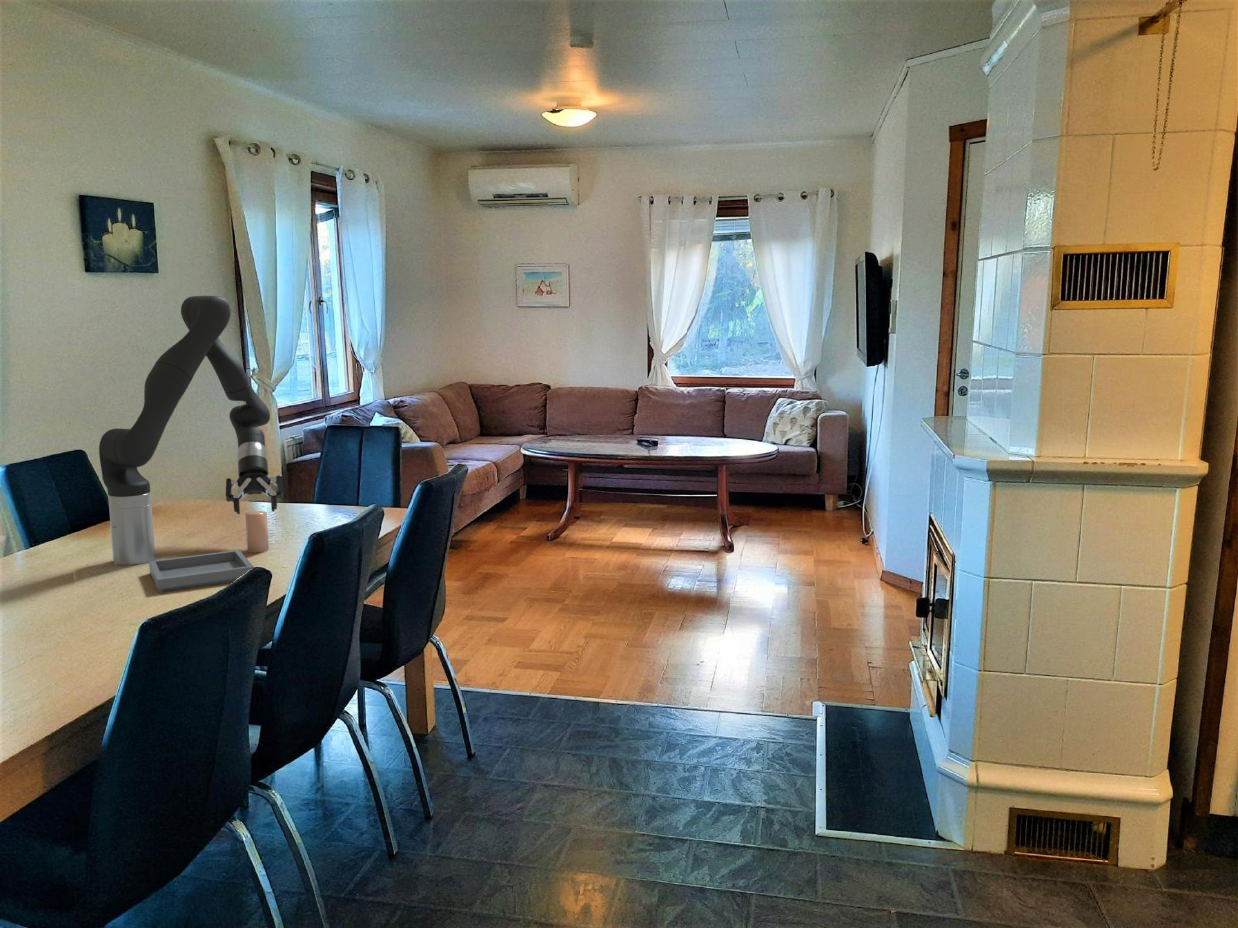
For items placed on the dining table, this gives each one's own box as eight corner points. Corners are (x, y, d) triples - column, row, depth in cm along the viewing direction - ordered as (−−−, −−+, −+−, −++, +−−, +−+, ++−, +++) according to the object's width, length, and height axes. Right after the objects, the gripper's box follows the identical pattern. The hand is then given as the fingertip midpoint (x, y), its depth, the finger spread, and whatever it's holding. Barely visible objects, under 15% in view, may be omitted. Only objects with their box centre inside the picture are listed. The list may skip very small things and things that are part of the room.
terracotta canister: (249, 554, 226) (247, 516, 224) (245, 549, 230) (243, 512, 229) (270, 551, 229) (268, 513, 227) (266, 547, 233) (264, 510, 231)
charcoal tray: (158, 592, 193) (157, 579, 193) (150, 573, 208) (149, 561, 208) (254, 579, 204) (253, 566, 203) (240, 561, 219) (239, 549, 218)
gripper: (223, 455, 235) (225, 505, 227) (280, 452, 241) (284, 501, 232) (225, 471, 241) (227, 521, 232) (280, 468, 246) (284, 516, 238)
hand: (255, 511), depth 232 cm, fingers open, 8 cm apart
